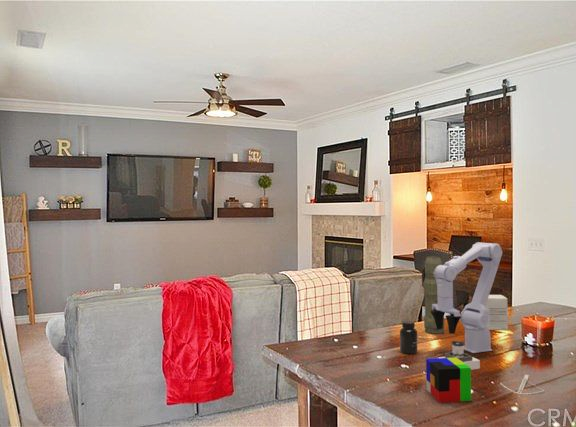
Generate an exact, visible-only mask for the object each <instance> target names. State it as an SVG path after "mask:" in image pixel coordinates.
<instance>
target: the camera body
mask: <svg viewBox="0 0 576 427" xmlns="http://www.w3.org/2000/svg"><path fill="white" fill-rule="evenodd" d="M437 358H455V357H454V356H452V351H451V352H444V356H440V357H437ZM458 359H459V360H461V361H462V362H463V363H465V364H466V365H467V366H469V367H470V368H471V371H474V370H479V369H481V362H480V361H481V360H480V359H478V358H475V357H474V356H472V355H469V354H468V353H465V352H464V357H460V358H458Z"/></svg>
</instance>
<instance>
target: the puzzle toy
mask: <svg viewBox="0 0 576 427" xmlns="http://www.w3.org/2000/svg"><path fill="white" fill-rule="evenodd" d="M425 368H426V369H425V371H426V373H425V374H426V379H425V380H426V381H425V382H426V391H427V390H428V391H429V392H430V393H431V396H432V397H433V398H434V399H435V400H436V401H437V402H438V403H453V402H466V401H467V402H472V370H471V368H470V367H469V366H467V365H466V364H465V363H463V362H462V361H461V360H459V359H458V358H456V357H455V358H438V357H437V358H435V357H434V358H426V359H425ZM428 391H427V392H428ZM429 392H428V393H429ZM430 393H429V394H430Z"/></svg>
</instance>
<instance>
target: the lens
mask: <svg viewBox="0 0 576 427" xmlns="http://www.w3.org/2000/svg"><path fill="white" fill-rule="evenodd" d="M464 346H465V341H461V340H453V341H451V352H452V356H454V357H456V358H460V357H464V353H465V350H464Z"/></svg>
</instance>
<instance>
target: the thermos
mask: <svg viewBox="0 0 576 427" xmlns="http://www.w3.org/2000/svg"><path fill="white" fill-rule="evenodd" d="M439 265H443V262H442V259H441V257H440V256H438V255H429V256H426V257H425V261H424V266H422V267H421V287H422V288H423V294H424V310H425V311H424V317H423V326H424V333H425V334H430V335H442V334H445V317H444V318H443V328H442V329H437V327H436V323H435V320H434V317H433V315H432V314H431V311H434V309H432V304H438V296H437V282H436V278H435V277H434V271H435V268H436V267H437V266H439Z"/></svg>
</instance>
